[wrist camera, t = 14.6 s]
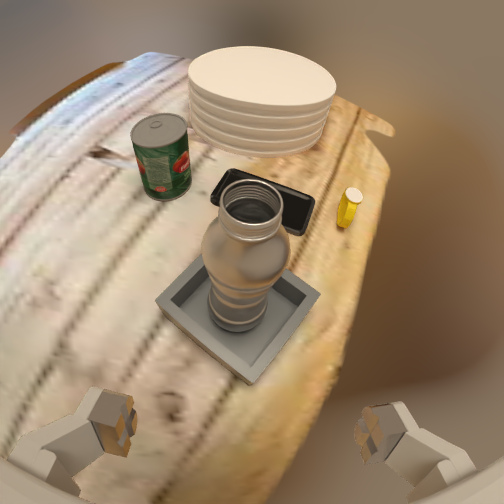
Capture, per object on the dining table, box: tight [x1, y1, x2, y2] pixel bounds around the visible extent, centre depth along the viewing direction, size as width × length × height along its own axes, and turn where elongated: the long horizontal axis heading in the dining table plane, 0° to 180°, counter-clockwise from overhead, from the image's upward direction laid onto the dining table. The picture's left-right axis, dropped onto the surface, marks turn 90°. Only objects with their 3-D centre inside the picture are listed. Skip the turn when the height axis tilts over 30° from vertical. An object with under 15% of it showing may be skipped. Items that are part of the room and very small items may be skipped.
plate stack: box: [188, 46, 336, 158], centre depth 51 cm, size 28×28×12 cm
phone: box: [211, 168, 315, 236], centre depth 43 cm, size 8×1×15 cm
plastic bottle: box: [201, 179, 291, 332], centre depth 25 cm, size 6×7×20 cm
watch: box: [337, 187, 363, 228], centre depth 41 cm, size 6×3×6 cm, turn 166°
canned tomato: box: [130, 113, 192, 201], centre depth 39 cm, size 8×8×11 cm
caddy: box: [155, 254, 321, 385], centre depth 32 cm, size 13×12×5 cm
